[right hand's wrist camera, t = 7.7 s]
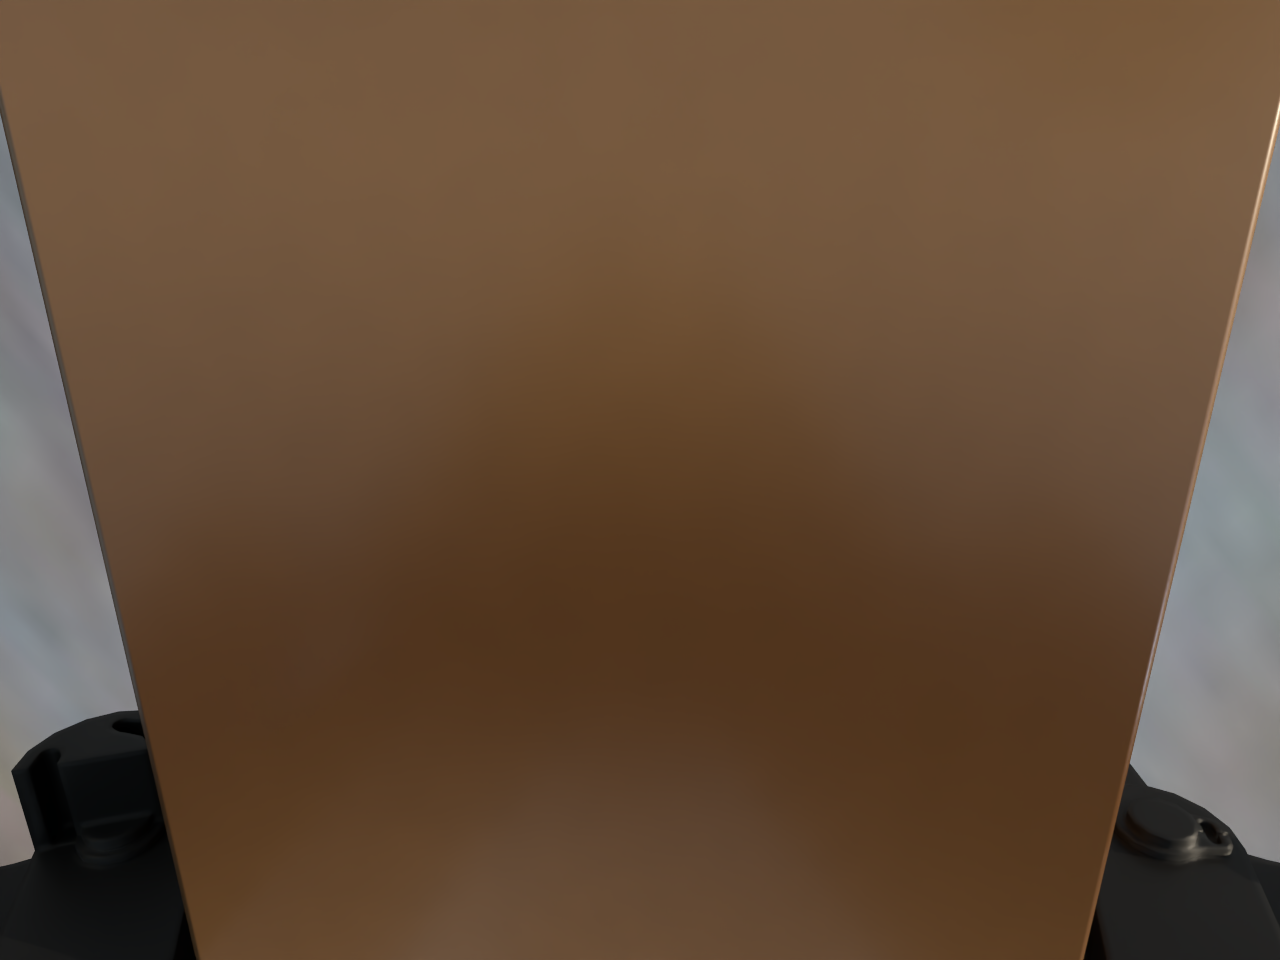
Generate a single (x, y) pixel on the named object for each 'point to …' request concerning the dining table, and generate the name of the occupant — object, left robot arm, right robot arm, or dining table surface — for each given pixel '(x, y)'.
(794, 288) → the bar
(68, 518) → the dining table surface
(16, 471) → the dining table surface
